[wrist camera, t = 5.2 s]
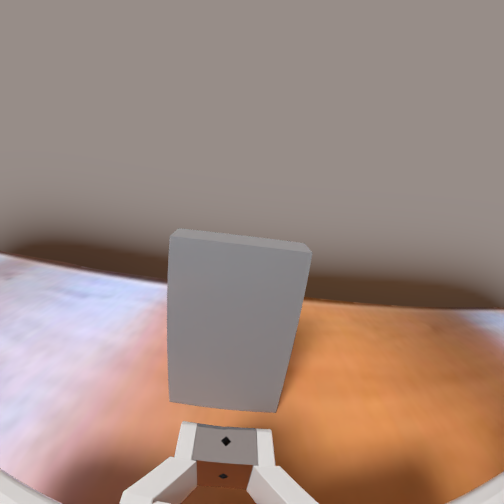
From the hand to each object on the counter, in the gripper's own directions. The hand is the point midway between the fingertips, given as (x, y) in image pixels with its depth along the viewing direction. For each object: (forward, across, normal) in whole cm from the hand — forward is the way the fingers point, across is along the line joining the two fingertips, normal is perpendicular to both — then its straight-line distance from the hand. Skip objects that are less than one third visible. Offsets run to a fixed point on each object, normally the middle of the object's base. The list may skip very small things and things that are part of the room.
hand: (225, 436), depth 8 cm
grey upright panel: (+8, 0, +6) cm, 10 cm away
